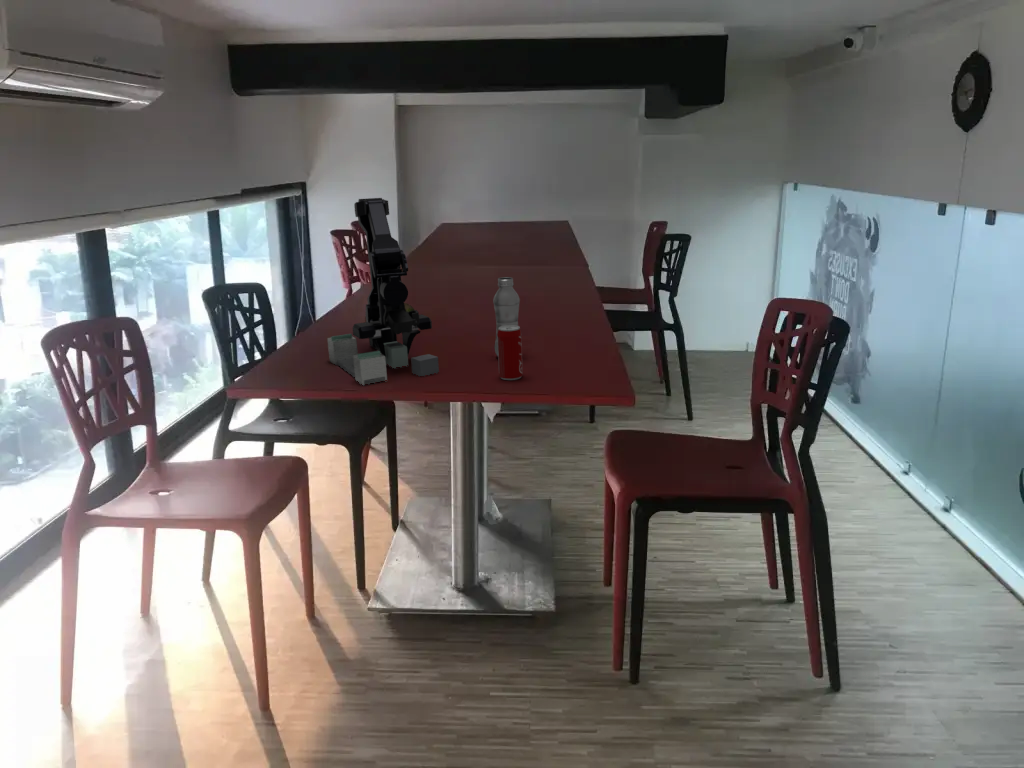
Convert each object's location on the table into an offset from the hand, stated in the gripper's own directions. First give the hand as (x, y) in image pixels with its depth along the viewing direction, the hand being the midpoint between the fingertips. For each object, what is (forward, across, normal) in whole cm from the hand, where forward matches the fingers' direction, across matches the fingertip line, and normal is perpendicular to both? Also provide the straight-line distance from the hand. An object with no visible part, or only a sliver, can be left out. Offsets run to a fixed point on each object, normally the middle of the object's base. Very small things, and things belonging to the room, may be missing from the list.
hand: (395, 360), depth 194 cm
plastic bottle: (+1, +26, -11) cm, 28 cm away
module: (+1, 0, 0) cm, 1 cm away
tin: (+1, +12, +35) cm, 37 cm away
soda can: (+1, +18, -27) cm, 32 cm away
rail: (+1, -10, 0) cm, 10 cm away
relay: (+1, +3, -12) cm, 12 cm away
